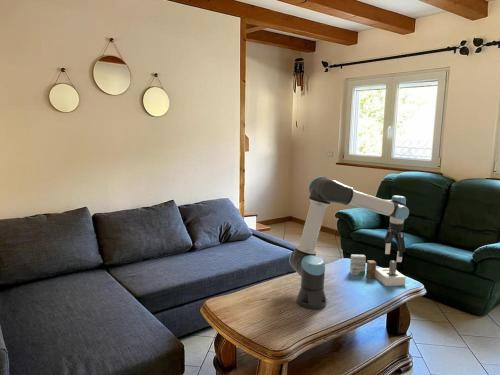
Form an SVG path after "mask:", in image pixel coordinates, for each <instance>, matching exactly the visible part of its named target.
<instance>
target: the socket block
mask: <svg viewBox="0 0 500 375" xmlns="http://www.w3.org/2000/svg"><path fill="white" fill-rule="evenodd" d="M375 279H377V280H378V281H379V282H380V283H382V284H383V285H384V286H386V287H388V286H389V287H390V286H391V287H393V286H405V285H406V276H405V275H404V274H402V273H401V272H399V271H398V270H397V269H396V275H395V276H389V267H383V268H382V267H380V268H379V267H378V268H377V267H376V274H375Z"/></svg>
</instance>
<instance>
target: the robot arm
mask: <svg viewBox="0 0 500 375" xmlns="http://www.w3.org/2000/svg"><path fill="white" fill-rule="evenodd" d="M309 182H310V183H309V184H308V191H309V197H308V200H309V202H310V204H309V208H308V212H307V215H306V219H305V222H304V226H303V230H302V234H301V237H300V240H299V243H298V244H297V245H295V247H294V250H293V251H292V252H291V253H290V254H289V259H288V260H289V265H290V267H291V268H292V270H293V271H294V272H296V273H297V275H299V276H300V289H299V291H298V294H297V296H296V303H297V304H298V305H299V306H300V307H302V308H305V309H308V310H320V309H324V308H325V307H326V306H327V296H326V293H325V289H324V288H325V272H326V271H325V270H326V263H325V261H324V259H322V258H321V257H320V256H316V255H317V251H316V245H317V241H318V238H319V234H320V230H321V228H322V224H323V220H324V216H325V212H326V210H327V207H328V206H330V205H331V203H335V204H339V205H344V206H348V205H351V206H354V207H357V208H360V209H364V210H368V211H371V212H373V213H375V214H380V215H384V216H387V217H389V223H388V224H389V225H388V226H389V227H387V231H386V234H385V237H384V238H383V241H384V242H385V251H384V255H390V254H391V246H392V241H393V239H394V240H395V243H396V246H397V249H398V250H397V251H396V252H397V254H396V260H395V261H396V263H402V261H403V253H404V252H406V250H407V249H406V245H405V244H406V242H405V234H404V233H402V232H401V231H403V230H404V222H405V220H406V219H408V217H409V214H410V210H409V208H408V207H407V204H406V203H407V198H406V197H405V196H402V195H392V197H391V199H382V198H379V197H377V196H374V195H370V194H368V193H364V192H361V191H358V190H355V189H354V188H353V187H352V186H348V185H346V184H344V183H342V182H340V181H338V180H335V179H332V178H330V177H329V178H328V177H326V176H317V177H314V178H313V179H311V181H309Z"/></svg>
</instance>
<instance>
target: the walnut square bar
mask: <svg viewBox="0 0 500 375" xmlns="http://www.w3.org/2000/svg"><path fill="white" fill-rule="evenodd" d="M376 268H377V262H376V261H375V260H374V259H372V260H371V259H370V260H367V259H366V269H365V276H366V277H367V279H376V277H375V274H376Z"/></svg>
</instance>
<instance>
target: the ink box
mask: <svg viewBox="0 0 500 375" xmlns="http://www.w3.org/2000/svg"><path fill="white" fill-rule="evenodd" d="M366 267H367V257H366V255H365V254H350V266H349V273H350V275H355V276H357V275H359V276H366Z"/></svg>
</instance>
